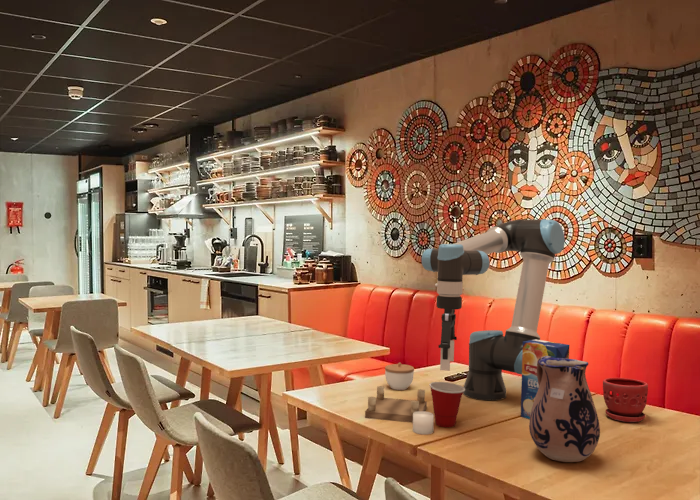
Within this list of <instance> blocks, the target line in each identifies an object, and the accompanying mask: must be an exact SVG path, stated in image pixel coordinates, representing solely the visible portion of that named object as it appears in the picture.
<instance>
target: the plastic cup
mask: <svg viewBox="0 0 700 500" xmlns="http://www.w3.org/2000/svg"><path fill="white" fill-rule="evenodd" d="M428 385H429V388H430V392H431V399H432V400H431V401H432V407H433V414H434V420H435V421H434V422H435V425H436V426H438V427H441V428H453V427H455V426H456V424H457V418H458V415H459V409H460V405H461V401H462V396H463V395H464V394H463V392H464V391H465V388H464V386H462V385H461V384H457V383H452V382H447V381H432V382H430V383H429V384H428Z"/></svg>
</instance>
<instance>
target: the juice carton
mask: <svg viewBox="0 0 700 500" xmlns="http://www.w3.org/2000/svg"><path fill="white" fill-rule="evenodd" d="M543 356H550V357H554V358H564V359H565V358H567V359H570V344H567V343H566V344H565V343H560V342H556V341H555V342H554V341H548V340H543V339H540V340H537V339H535V340H529V341H524V342H523V352H522V374H521V387H520V389H521V390H520V391H521V394H520V396H521V397H520V418H524V419H528V420H530V414H531V409H532V406H533V403H534V399H535V397H536V394H537V392H538V389H539V384H538V378H537V363H538V360H539V359H540V358H541V357H543Z"/></svg>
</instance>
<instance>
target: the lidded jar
mask: <svg viewBox="0 0 700 500" xmlns="http://www.w3.org/2000/svg"><path fill="white" fill-rule="evenodd" d="M384 370H385V372H384V375H385V380H386V382H387V385H388V386H389V387H390V388H391V390H395V391H404V390H407V389H408V387H410V386H411V385H412V383H413V381H414V373H415V372H414V371H415V368H414V366H412V365H409V364H402V363H401V362H398V363H393V364H387V365H386V366H385V367H384Z"/></svg>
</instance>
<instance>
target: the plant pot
mask: <svg viewBox="0 0 700 500" xmlns="http://www.w3.org/2000/svg"><path fill="white" fill-rule="evenodd" d="M602 393H603V394H602V395H603V400H604V404H605V405H606V409H605V414H606V415H607V417H609V418H610V419H611V420H615V421H619V422H624V423H639V422H641V421H643V420H645V418H646V413H644V410H645V408H646V405H647V401H648V393H649V384H648V383H647V382H646V381H644V380H640V379H634V378H625V377H608V378H604V379H603V380H602ZM617 394H618V395H617Z"/></svg>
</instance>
